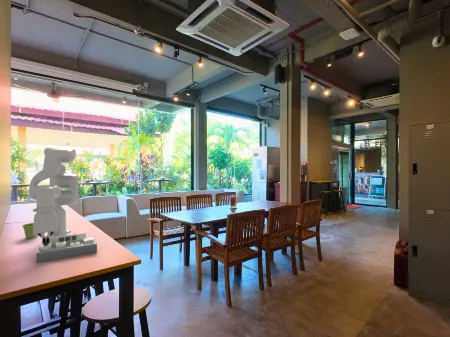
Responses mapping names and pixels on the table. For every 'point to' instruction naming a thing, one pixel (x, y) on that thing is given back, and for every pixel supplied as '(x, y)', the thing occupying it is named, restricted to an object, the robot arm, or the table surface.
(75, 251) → the keyboard
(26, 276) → the table surface
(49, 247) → the key
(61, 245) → the key
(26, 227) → the plant pot
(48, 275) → the table surface
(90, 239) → the key
